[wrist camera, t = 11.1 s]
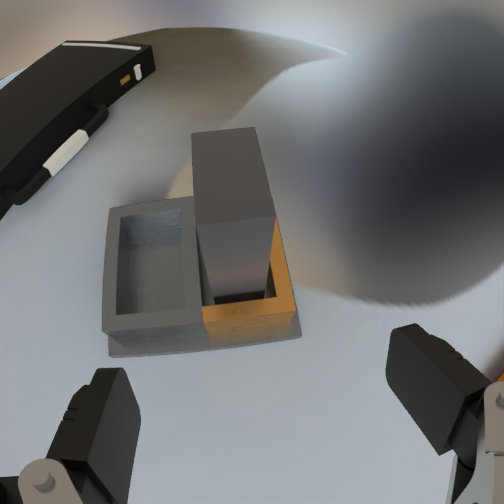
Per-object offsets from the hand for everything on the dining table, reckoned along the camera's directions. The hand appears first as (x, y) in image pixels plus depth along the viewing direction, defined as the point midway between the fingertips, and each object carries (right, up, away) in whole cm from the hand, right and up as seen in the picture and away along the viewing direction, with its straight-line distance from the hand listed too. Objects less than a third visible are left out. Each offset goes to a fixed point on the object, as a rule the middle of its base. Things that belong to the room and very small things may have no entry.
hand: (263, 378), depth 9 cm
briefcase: (-36, +20, +30) cm, 51 cm away
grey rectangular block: (-2, +2, +19) cm, 20 cm away
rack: (-5, +2, +20) cm, 21 cm away
